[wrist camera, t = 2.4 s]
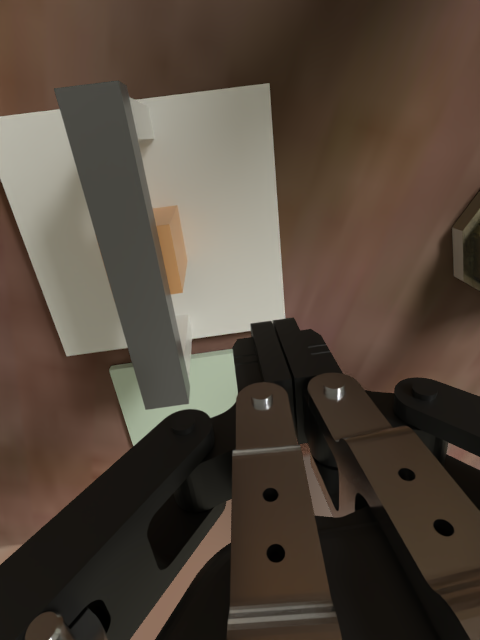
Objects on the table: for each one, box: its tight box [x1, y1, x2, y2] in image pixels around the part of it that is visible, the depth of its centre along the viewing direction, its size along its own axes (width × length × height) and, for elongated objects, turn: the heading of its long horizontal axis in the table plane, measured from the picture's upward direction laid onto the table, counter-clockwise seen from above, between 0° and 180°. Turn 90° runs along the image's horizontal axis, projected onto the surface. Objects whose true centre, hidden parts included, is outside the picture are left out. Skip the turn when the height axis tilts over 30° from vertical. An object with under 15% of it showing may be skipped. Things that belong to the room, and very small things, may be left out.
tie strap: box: [54, 81, 190, 410], centre depth 23 cm, size 3×19×2 cm, turn 7°
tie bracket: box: [0, 83, 285, 379], centre depth 28 cm, size 20×19×8 cm
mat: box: [109, 349, 238, 446], centre depth 39 cm, size 14×10×1 cm
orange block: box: [95, 205, 188, 302], centre depth 28 cm, size 4×8×7 cm, turn 7°
